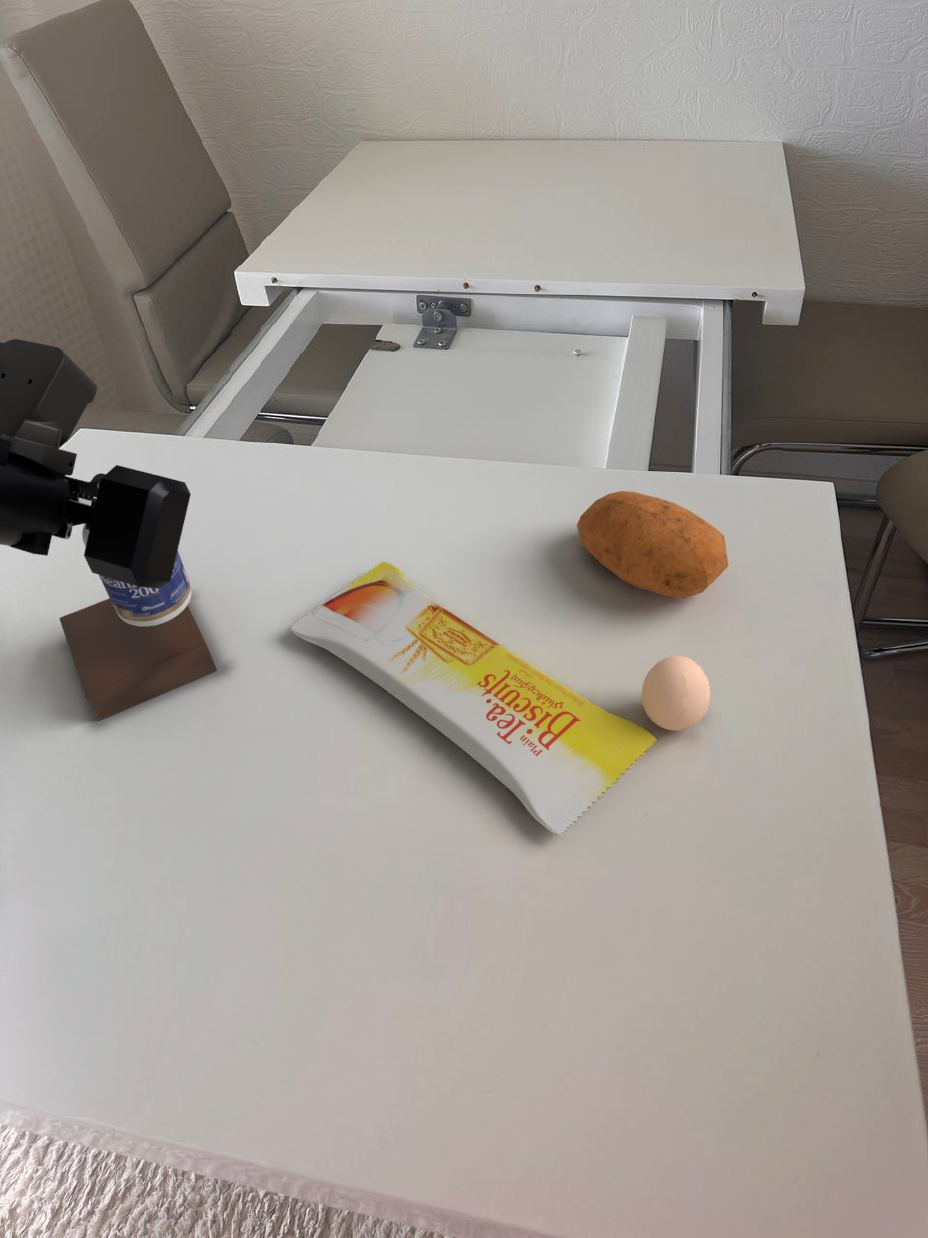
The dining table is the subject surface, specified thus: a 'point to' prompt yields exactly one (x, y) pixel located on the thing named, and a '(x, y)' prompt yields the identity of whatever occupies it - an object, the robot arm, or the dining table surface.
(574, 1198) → the dining table surface
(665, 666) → the egg
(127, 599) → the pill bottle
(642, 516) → the potato
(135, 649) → the walnut block
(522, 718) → the food package
